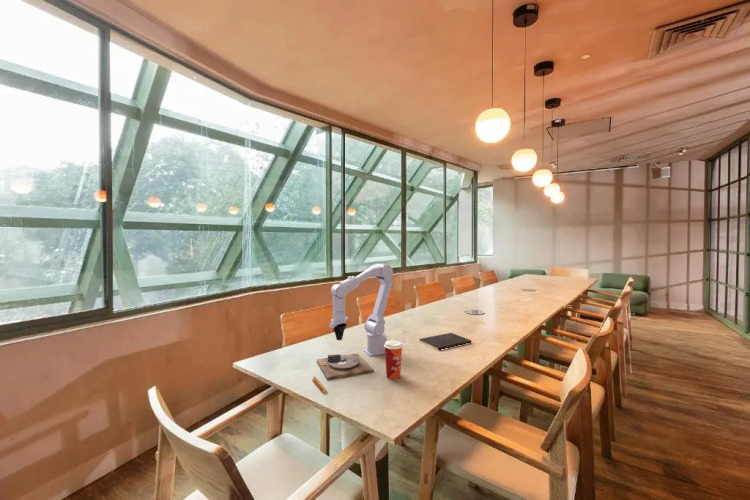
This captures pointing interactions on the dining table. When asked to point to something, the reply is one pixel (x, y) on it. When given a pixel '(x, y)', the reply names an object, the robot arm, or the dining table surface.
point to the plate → (337, 373)
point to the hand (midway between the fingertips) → (339, 339)
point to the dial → (342, 361)
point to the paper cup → (393, 358)
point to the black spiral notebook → (444, 341)
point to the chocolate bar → (319, 385)
